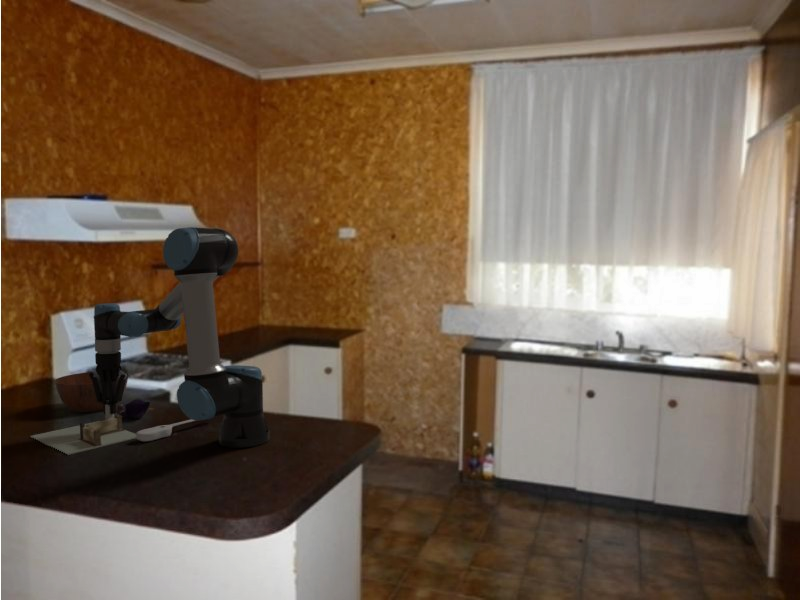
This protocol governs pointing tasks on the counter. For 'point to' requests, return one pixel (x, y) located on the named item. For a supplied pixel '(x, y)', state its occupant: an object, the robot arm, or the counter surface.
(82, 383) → the bowl
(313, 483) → the counter surface
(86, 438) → the fence fixed
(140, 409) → the toy
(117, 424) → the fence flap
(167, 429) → the spatula
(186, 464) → the counter surface
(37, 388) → the counter surface
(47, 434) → the card
